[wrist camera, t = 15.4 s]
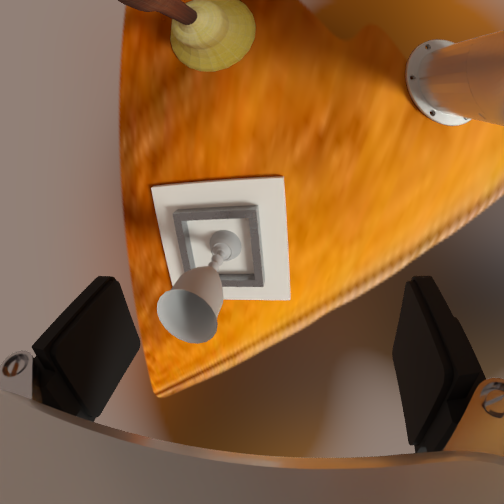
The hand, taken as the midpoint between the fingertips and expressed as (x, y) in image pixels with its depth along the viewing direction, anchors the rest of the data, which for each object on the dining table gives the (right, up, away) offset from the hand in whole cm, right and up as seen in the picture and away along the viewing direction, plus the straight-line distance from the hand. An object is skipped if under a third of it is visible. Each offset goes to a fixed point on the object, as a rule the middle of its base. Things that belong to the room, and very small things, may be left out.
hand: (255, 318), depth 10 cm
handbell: (-6, +32, +26) cm, 42 cm away
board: (-5, +3, +40) cm, 41 cm away
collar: (-5, +3, +40) cm, 41 cm away
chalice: (-4, +3, +40) cm, 40 cm away
